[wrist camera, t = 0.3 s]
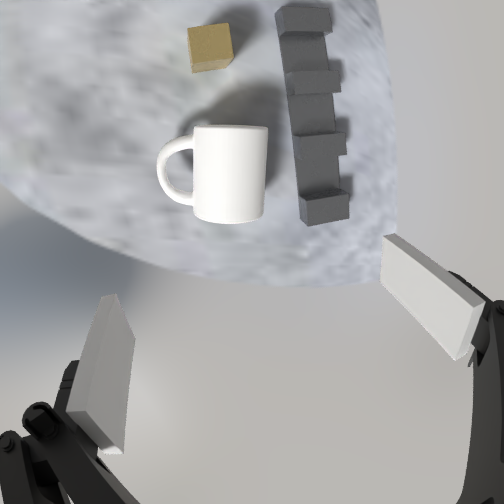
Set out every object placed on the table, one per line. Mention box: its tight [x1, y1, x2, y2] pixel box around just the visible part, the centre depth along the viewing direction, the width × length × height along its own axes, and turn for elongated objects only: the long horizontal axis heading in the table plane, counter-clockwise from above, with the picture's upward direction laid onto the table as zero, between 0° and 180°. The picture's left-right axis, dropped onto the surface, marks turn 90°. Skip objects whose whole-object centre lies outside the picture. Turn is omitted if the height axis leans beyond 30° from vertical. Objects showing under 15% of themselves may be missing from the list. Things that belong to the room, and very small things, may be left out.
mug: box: [157, 125, 268, 224], centre depth 33 cm, size 12×10×8 cm
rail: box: [275, 7, 349, 226], centre depth 35 cm, size 28×6×3 cm, turn 8°
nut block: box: [188, 23, 234, 73], centre depth 28 cm, size 4×4×7 cm
